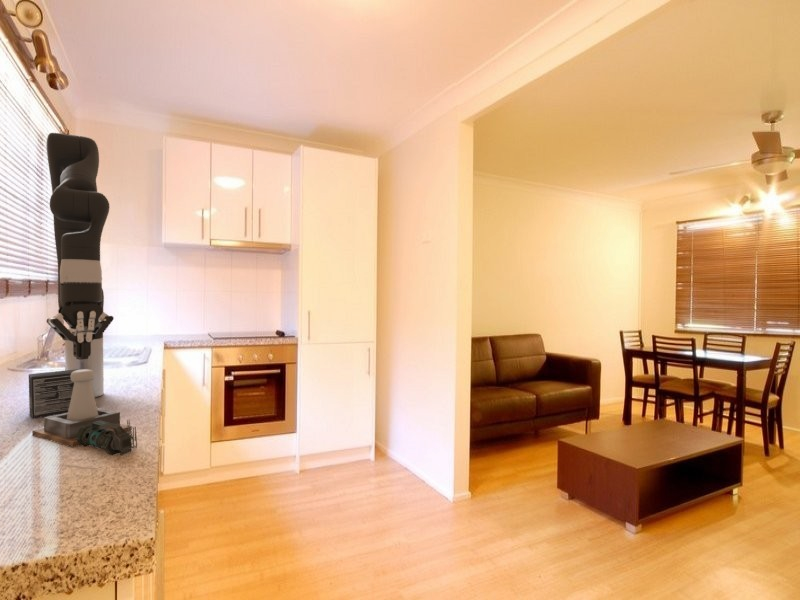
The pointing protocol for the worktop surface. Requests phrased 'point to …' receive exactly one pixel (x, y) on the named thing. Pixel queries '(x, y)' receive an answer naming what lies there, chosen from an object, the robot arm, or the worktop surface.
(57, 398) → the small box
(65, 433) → the socket board
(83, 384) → the salt shaker
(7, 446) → the worktop surface
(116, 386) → the worktop surface
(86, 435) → the stun grenade
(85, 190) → the robot arm
